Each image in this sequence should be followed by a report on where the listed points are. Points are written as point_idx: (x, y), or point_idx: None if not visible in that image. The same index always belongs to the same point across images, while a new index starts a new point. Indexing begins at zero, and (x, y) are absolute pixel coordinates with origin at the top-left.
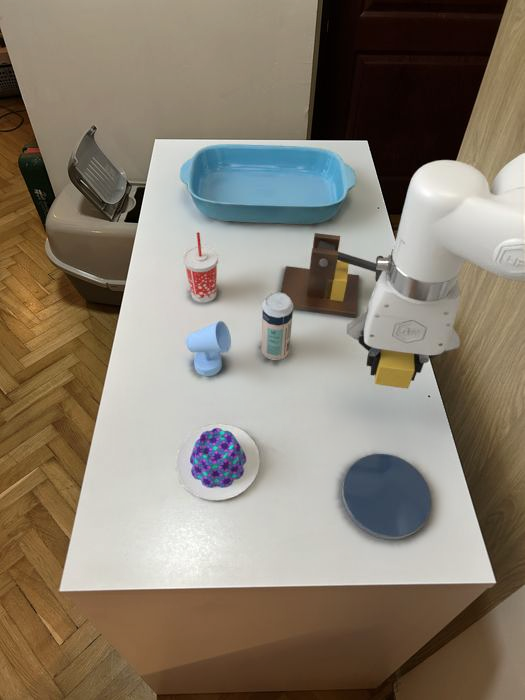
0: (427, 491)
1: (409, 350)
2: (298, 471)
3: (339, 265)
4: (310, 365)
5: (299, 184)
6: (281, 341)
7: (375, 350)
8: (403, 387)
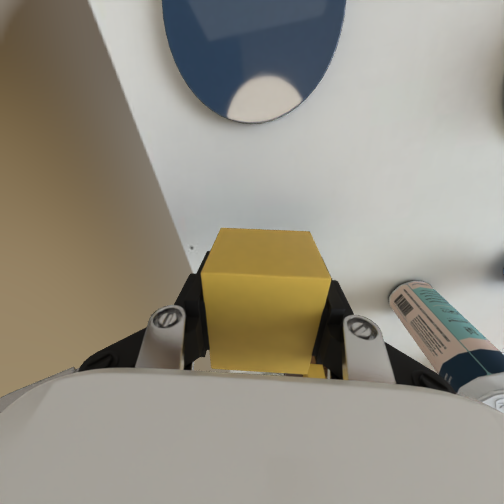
0: (172, 40)
1: (225, 404)
2: (423, 58)
3: None
4: (358, 277)
5: None
6: (434, 312)
7: (363, 345)
8: (232, 229)
